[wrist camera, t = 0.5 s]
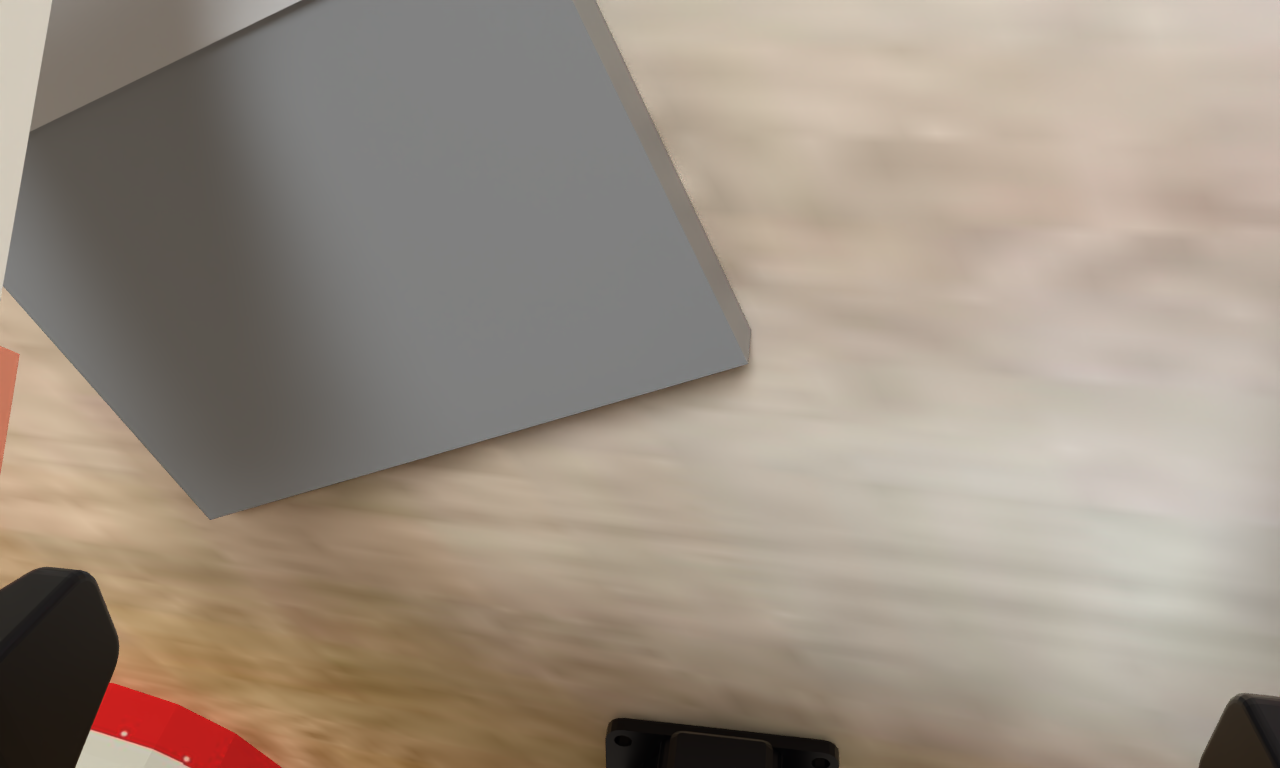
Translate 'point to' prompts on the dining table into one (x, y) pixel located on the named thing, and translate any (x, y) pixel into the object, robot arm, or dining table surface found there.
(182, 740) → the kitchen timer
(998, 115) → the dining table surface
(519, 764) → the dining table surface
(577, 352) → the switch panel
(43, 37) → the switch lever
